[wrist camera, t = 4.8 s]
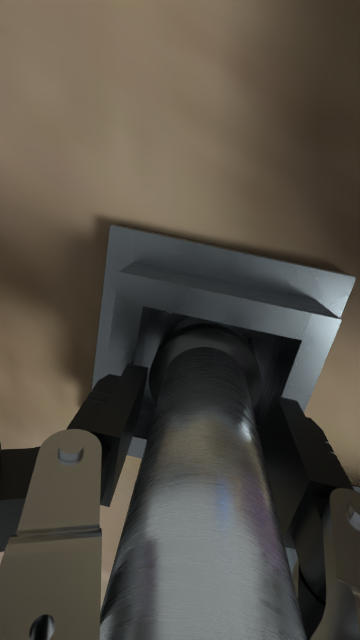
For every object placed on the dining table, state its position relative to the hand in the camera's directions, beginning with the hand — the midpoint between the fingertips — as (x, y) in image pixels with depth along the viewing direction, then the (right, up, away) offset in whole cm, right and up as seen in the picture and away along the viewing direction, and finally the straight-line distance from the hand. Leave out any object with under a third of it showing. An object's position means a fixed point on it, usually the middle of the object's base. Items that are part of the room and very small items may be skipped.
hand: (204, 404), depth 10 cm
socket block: (0, +1, +4) cm, 4 cm away
